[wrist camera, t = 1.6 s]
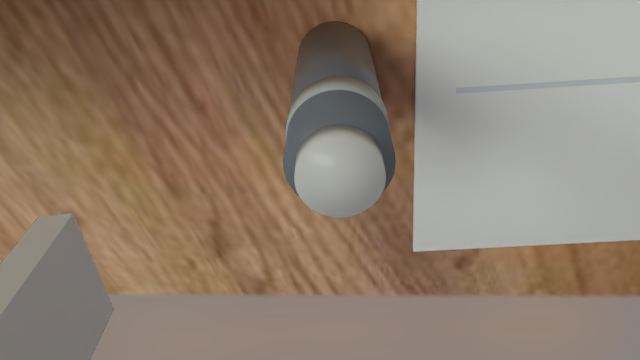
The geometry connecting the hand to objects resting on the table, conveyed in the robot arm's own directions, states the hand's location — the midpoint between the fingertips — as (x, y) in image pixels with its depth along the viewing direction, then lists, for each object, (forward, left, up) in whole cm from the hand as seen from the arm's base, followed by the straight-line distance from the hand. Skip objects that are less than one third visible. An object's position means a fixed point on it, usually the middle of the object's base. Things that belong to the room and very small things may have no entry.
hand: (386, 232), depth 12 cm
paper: (+13, -5, -17) cm, 22 cm away
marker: (-1, -2, -17) cm, 17 cm away
